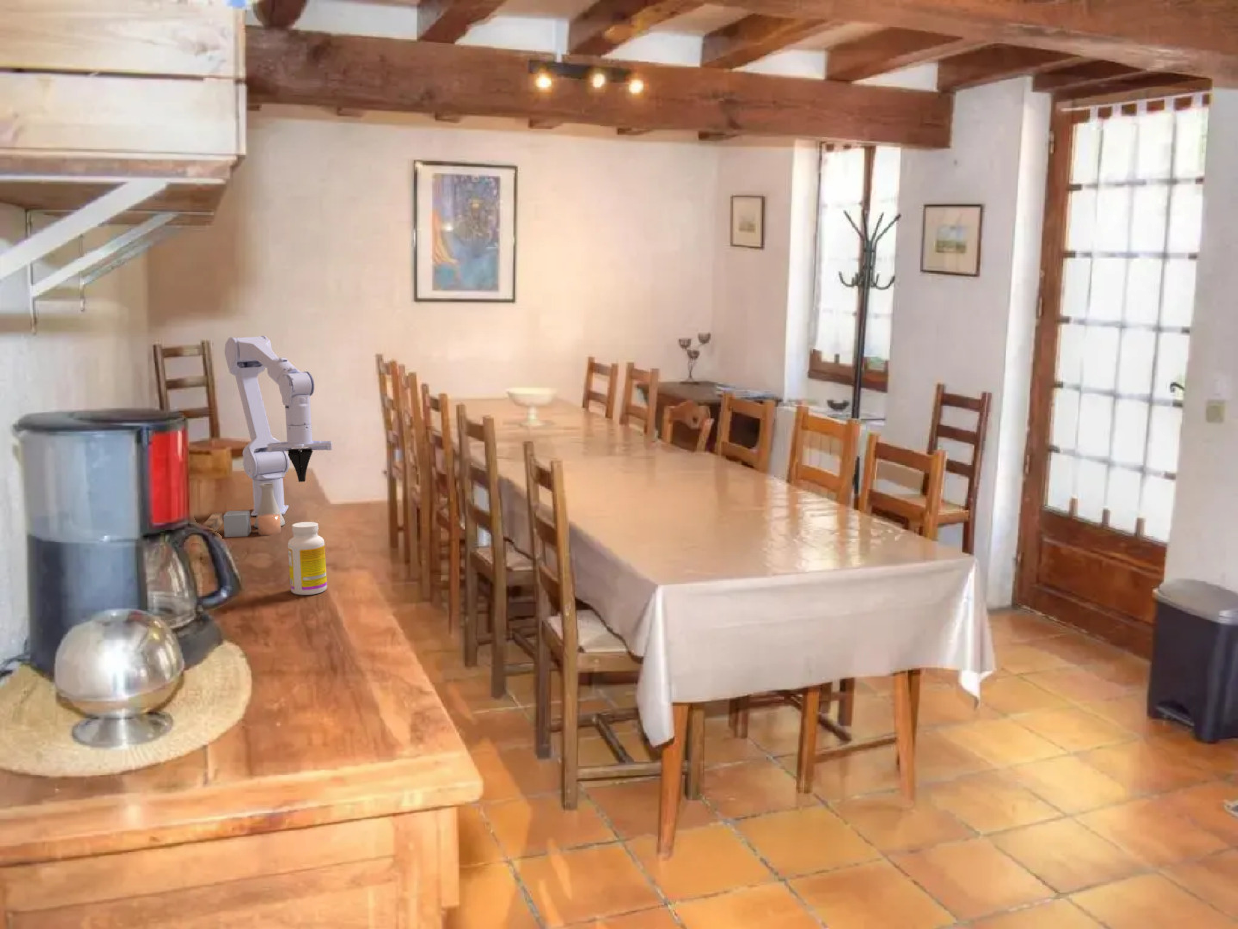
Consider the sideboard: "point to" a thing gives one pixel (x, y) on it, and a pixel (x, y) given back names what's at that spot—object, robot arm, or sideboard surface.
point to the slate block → (237, 523)
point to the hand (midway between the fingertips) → (302, 481)
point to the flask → (268, 503)
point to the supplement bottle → (307, 560)
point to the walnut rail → (214, 521)
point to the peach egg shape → (269, 524)
